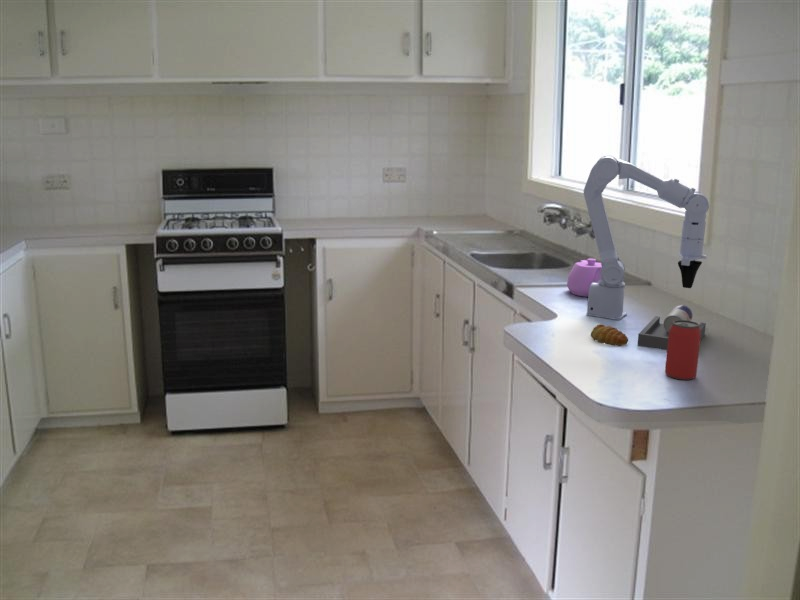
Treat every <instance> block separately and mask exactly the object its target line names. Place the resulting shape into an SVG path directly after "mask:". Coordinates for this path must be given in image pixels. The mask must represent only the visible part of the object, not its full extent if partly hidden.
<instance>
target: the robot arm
mask: <svg viewBox="0 0 800 600" xmlns="http://www.w3.org/2000/svg"><path fill="white" fill-rule="evenodd" d="M588 175H589V176H588V178H587V181H586V183H585V186H584V189H583V196H584V200H585V203H586V207H587V211H588V216H589V220H590V223H591V228H592V230H593V234H594V238H595V242H596V246H597V250H598V254H599V255H598V256H599V258H600V259H599V260H600V263H601V266H602V270H601V280H599V283H592V284H591V285H590V288H589V295H588V297H587V298H588V299H587V309H586V314H585V315H586V316H590V317H598V318H603V319H604V318H605V319H613V320H621V319H623V318H624V317H625V316H626V315H627V312H626V311H623V310H624V300H625V293H626V292H625V289H626V283H625V281H624V279H625V270H626V266H625V264H624V263H623V261H622V260H621V259H620V257H619V254H618V250H617V247H616V244H615V241H614V237H613V232H612V229H611V225H610V221H609V218H608V213H607V211H606V206H605V203H604V202H605V201H604V198H603V192H604V190H605V189H606V187H607V186H608V184H610V183H611V182H612V181H614V179H616V178H617V177H618V179H619V180H624V179H631V180H634V181H635V182H637V183H639V184H641V185H644V186H646V187H648V188H650V189H652V190H654V191H656V192H657V196H658V199H661V200H663V201H665V202H667V203H669V204H671V205H673V206H675V207H677V208H678V209H683V208H684V209H685V210H684V211H685V212H684V218H683V220H682V230H681V239H680V247H679V253H678V257H679V258H680V259H681V260H679V261H677V266H678V267H679V271H680V274H681V285H682V288H684V289H685V288H686V289H691V288H692V287H693V285H694V281H695V278H696V276H697V273H698V270H699V269H700V267H701V265H702V263H703V262H702V261H700V260H701V259H703V260H704V259H707V257H708V256H707V255H706V254H703V251H704V242H705V241H704V240H705V234H706V225H707V223H706V219H707V212H708V211H709V210H710V209H709V208H710V205H709V201H708V198H707V197H706V196H705V195H704V194H703V193H701V191H696V190H697V189H696V188H695V187H691V188H690V187H688V186H686V185H684V184H683V183H680V180H679V179H678V178H674V179H673V178H667V179H661V178H659V177H657V176H656V175H654V174H651V173H650V172H648V171H646V170H644V169H642V168H640V167H638V166H637V165H635V164H633V163H631V162H628V161H626V160H624V159H623V160H622V159H619V158H618V159H617V158H616V157H614V156H612V155H603V156H601V157H600V158H599V159H598V160H597V162H595V164H594V165H593V166H592V168H591V170H590V172H589V174H588Z"/></svg>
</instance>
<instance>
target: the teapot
mask: <svg viewBox="0 0 800 600" xmlns="http://www.w3.org/2000/svg"><path fill="white" fill-rule="evenodd" d="M601 270H602V266H601V262H597V259H596V258H587V259H583V260H582V259H580V261H578V262H575V263H574V265H572V268H571V270H570V272H569V274H568V276H567V283H566V286H567V289H568V291H569V292H570V293H571V294H572V295H574V296H578V297H579V296H580V297H587V298H588V295H589V288H590V285H591V284H592V283H599V280H601Z"/></svg>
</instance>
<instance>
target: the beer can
mask: <svg viewBox="0 0 800 600" xmlns="http://www.w3.org/2000/svg"><path fill="white" fill-rule="evenodd" d="M699 325H700V323H698V322H695V321H692V320H691V321H687V320H676V321H673V324H672V326H671V328H670V331H669V337H668V347H667V350H666V359H665V369H664V373H665V375H666V376H667V377H670V378H671V379H675V380H682V381H690V380H693V379H695V378H696V377H697V372H698V364H699V354H700V348H701V347H700V346H701V345H700V344H701V341H700V338H701V332H700V328H699Z"/></svg>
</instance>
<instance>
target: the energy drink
mask: <svg viewBox="0 0 800 600" xmlns="http://www.w3.org/2000/svg"><path fill="white" fill-rule="evenodd" d="M692 311H693V310H692V309H691V308H690V307H688V306H687V305H684V304H680V305H676V306H675V307H673V309H672V310H671V311H670V312H669V313H668V314H667V315H666V317H665V318H664V320H663V323H662V324H664V328H665V330H666V331H667V332H668V333H669V331H670V328H671V326H672V324H673V321H676V320H687V321H692V320H693V312H692Z"/></svg>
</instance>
